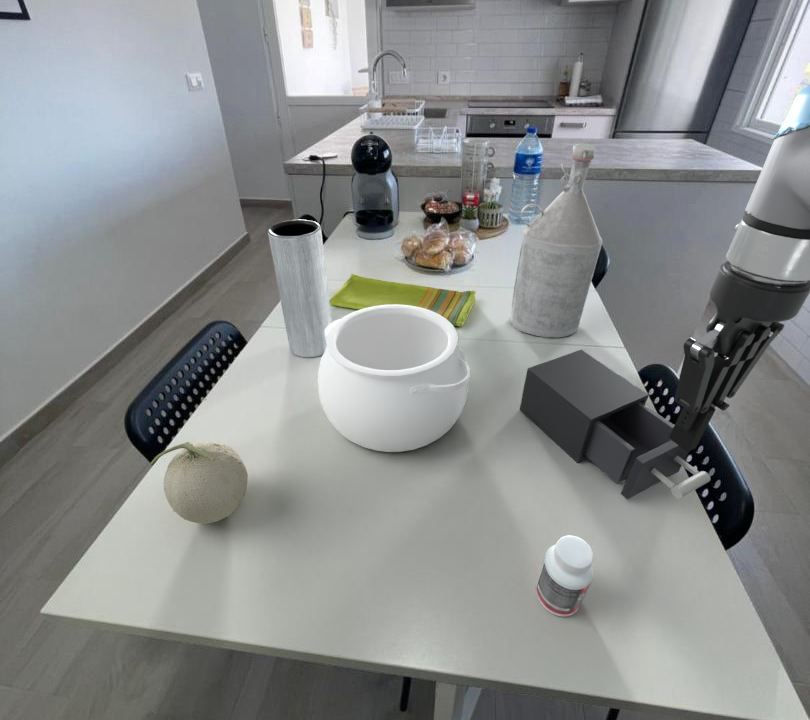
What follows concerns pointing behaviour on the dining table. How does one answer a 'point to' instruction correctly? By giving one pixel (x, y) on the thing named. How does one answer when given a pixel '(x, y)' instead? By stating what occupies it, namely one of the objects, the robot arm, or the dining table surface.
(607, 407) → the grey drawer box
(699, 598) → the dining table surface
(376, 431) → the pot
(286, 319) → the vase
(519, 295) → the grey jug
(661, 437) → the pulled-out drawer
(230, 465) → the fruit
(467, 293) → the dish towel
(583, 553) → the pill bottle
